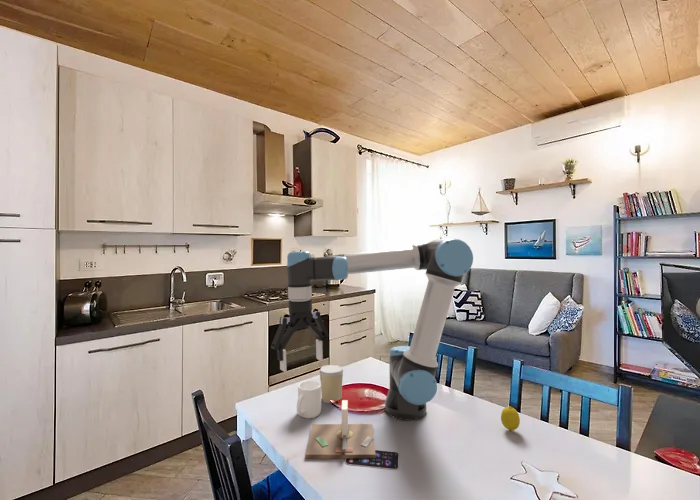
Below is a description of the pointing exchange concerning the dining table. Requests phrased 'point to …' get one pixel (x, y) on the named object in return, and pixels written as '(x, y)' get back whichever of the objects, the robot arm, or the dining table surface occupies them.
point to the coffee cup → (331, 382)
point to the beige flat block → (344, 423)
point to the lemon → (510, 418)
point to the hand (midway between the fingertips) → (302, 364)
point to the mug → (309, 399)
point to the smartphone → (377, 460)
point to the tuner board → (340, 442)
